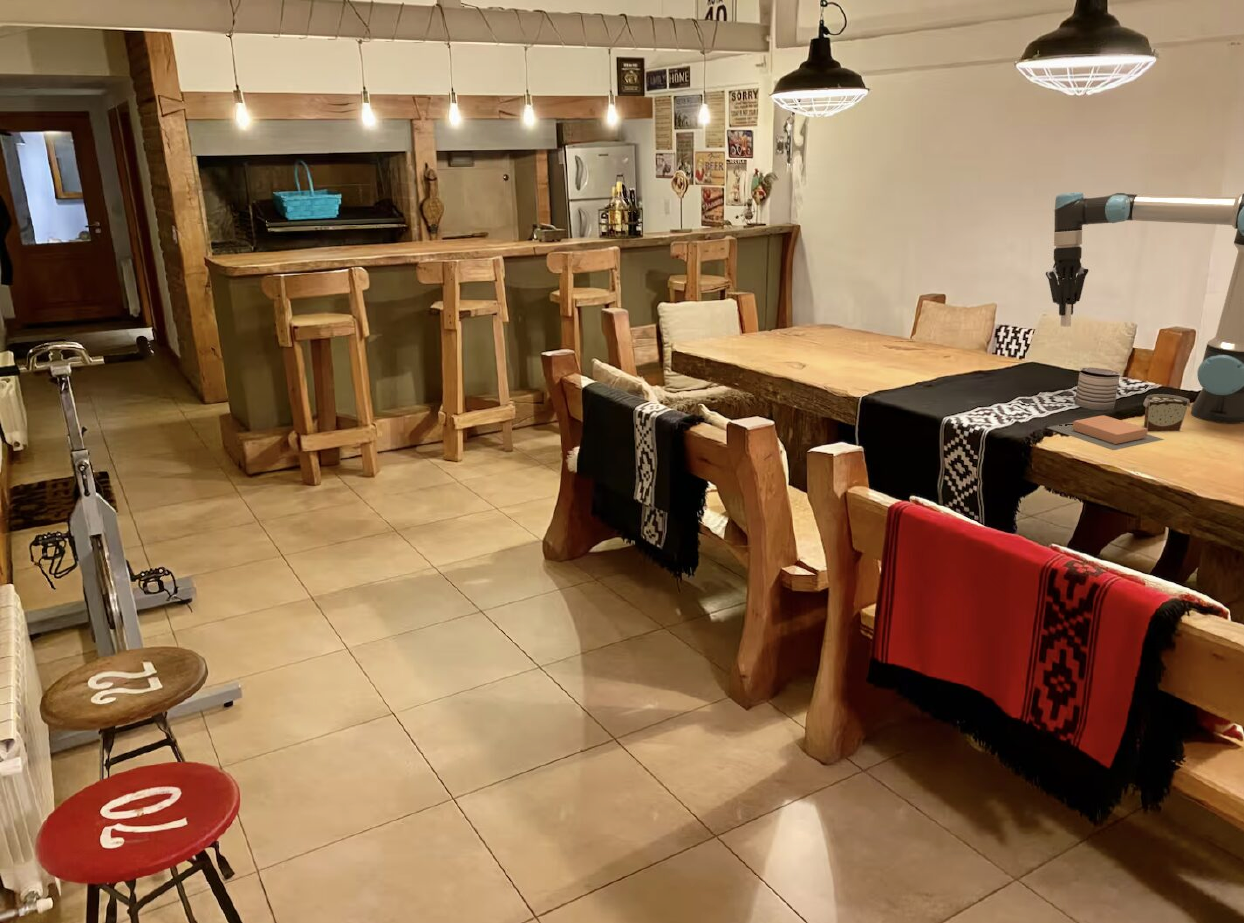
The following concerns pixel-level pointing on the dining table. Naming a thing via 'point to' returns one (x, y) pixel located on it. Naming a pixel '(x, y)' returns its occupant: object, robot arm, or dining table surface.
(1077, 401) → the can
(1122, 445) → the mat
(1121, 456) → the dining table surface
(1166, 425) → the food container
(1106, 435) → the tile
